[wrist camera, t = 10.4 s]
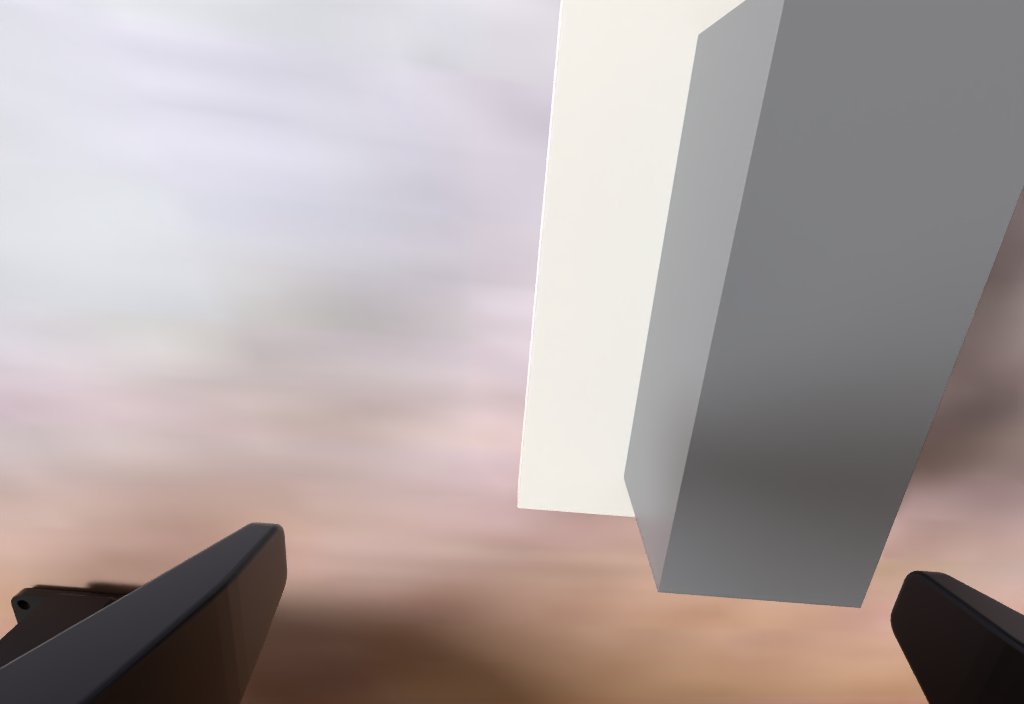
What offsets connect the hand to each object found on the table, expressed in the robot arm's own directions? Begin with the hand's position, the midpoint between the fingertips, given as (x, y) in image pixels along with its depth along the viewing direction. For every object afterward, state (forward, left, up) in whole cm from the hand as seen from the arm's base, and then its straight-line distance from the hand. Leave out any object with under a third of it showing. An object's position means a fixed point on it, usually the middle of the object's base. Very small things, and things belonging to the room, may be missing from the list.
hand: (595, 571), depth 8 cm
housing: (+2, -5, -9) cm, 11 cm away
